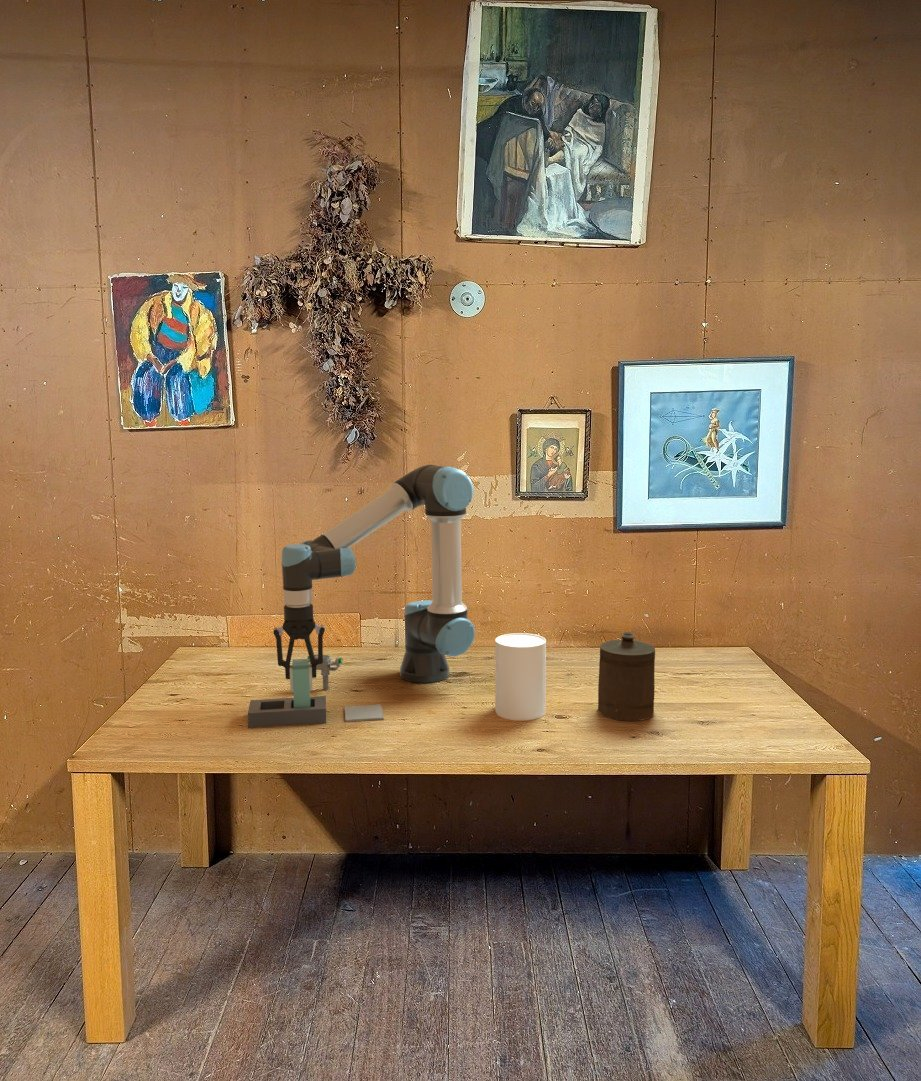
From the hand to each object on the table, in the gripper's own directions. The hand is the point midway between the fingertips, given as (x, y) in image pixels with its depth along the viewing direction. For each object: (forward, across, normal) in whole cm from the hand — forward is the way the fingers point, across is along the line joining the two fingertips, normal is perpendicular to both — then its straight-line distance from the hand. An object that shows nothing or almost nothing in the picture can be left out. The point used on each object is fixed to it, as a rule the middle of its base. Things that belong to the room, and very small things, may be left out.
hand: (301, 689), depth 234 cm
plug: (+5, 0, 0) cm, 5 cm away
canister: (+8, -58, +5) cm, 59 cm away
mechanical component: (+8, -6, -22) cm, 24 cm away
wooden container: (+8, -86, +10) cm, 87 cm away
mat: (+8, -16, 0) cm, 18 cm away
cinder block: (+8, +4, 0) cm, 9 cm away
